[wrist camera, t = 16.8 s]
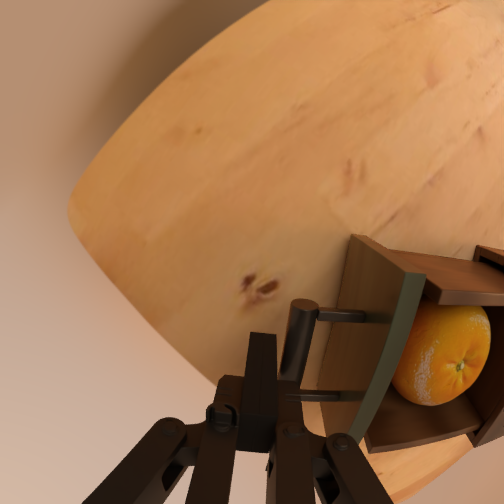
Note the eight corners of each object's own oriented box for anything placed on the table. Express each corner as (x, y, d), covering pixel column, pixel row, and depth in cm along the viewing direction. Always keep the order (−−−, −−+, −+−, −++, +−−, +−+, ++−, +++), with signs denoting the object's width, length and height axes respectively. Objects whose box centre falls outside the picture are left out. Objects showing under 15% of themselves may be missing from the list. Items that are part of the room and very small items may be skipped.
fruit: (506, 294, 15) (517, 372, 9) (455, 362, 20) (442, 434, 14) (422, 253, 18) (409, 322, 13) (383, 329, 23) (354, 398, 18)
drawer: (268, 382, 22) (265, 464, 14) (291, 226, 19) (308, 261, 11) (445, 379, 22) (483, 433, 13) (489, 255, 19) (555, 286, 10)
